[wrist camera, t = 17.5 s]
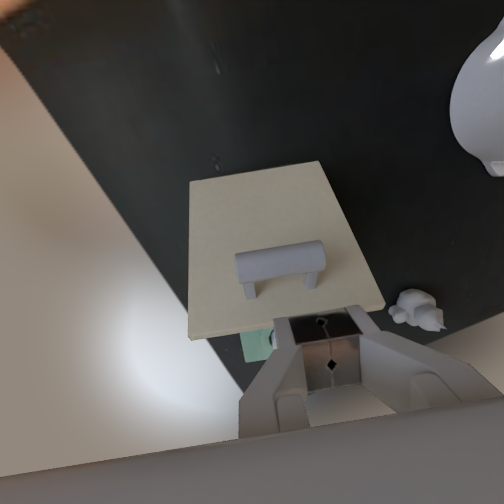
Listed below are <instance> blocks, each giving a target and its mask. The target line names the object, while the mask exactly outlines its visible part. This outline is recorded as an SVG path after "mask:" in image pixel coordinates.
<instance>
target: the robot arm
mask: <svg viewBox="0 0 504 504" xmlns="http://www.w3.org/2000/svg"><path fill="white" fill-rule="evenodd" d="M450 121H451V126H452V130H453V133H454V135H455V137H456V139H457V141H458V142H459V144H460V145H461V146H462V147H463V148H464V149H465V150H466V151H467V152H469V153H470V154H472V155H474V156H475V157H477V158H479V159H480V160H481V161H482V162H483V164H484V166H485V168H486V170H487V171H488V173H489V174H490V175H492V176H494V177H497V176H504V17H503V19H502V21H501V22H500V24H499V26H498V27H497V29H496V30H495V31H494V32H493V33H492V34H491V35H490V36H489V37H488V38H487V39H485V40H484V41H483V42H482V43H481V44H480V45H479V46H478V47H477V48H476V49H475V50H474V51H473V52H472V54H471V55H470V56H469V58H468V59H467V60H466V62H465V63H464V65H463V67H462V68H461V70H460V72H459V74H458V76H457V79H456V81H455V84H454V87H453V91H452V95H451V101H450ZM273 325H274V331H275V337H276V343H277V349H274V350H273V352H272V353H271V355H270V356H269V358H268V359H267V361H266V362H265V364H264V365H263V367H262V368H261V369H260V371H259V372H258V374H257V375H256V377H255V378H254V380H253V381H252V383H251V384H250V386H249V387H248V389H247V390H246V392H245V393H244V395H243V396H242V397H241V399H240V400H239V439H235V440H229V441H223V442H216V443H211V444H204V445H197V446H191V447H185V448H179V449H172V450H166V451H160V452H154V453H148V454H142V455H135V456H129V457H123V458H116V459H110V460H104V461H98V462H91V463H85V464H79V465H73V466H66V467H60V468H54V469H48V470H42V471H36V472H29V473H23V474H17V475H10V476H4V477H0V504H504V395H503V394H502V393H501V392H500V391H499V390H498V389H497V388H495V387H494V386H493V385H492V384H491V383H490V382H489V381H488V380H487V379H486V378H485V377H483V376H482V375H481V374H480V373H479V372H478V371H477V370H476V369H474V368H473V367H472V366H471V365H470V364H468V363H465V362H463V361H460V360H458V359H455V358H453V357H450V356H448V355H445V354H443V353H440V352H438V351H435V350H433V349H430V348H428V347H425V346H423V345H420V344H418V343H415V342H413V341H410V340H408V339H405V338H403V337H400V336H398V335H395V334H393V333H391V332H388V331H381V330H380V329H379V328H378V326H377V325H376V324H375V323H374V322H373V320H372V319H371V318H370V317H369V316H368V314H367V313H366V312H365V311H364V309H363V308H362V307H361V306H360V305H358V304H357V305H352V306H347V307H343V308H338V309H333V310H327V311H322V312H317V313H316V312H314V313H307V314H300V315H294V316H286V317H280V318H275V319H273ZM352 385H361V386H362V387H364V388H365V389H366V390H368V391H369V392H370V393H372V394H373V395H374V396H375V397H377V398H378V399H380V400H381V401H382V402H383V403H385V404H386V405H387V406H388V407H390V408H391V409H392V410H394V411H395V412H396V414H390V415H384V416H378V417H371V418H365V419H359V420H353V421H346V422H341V423H334V424H329V425H322V426H316V427H310V424H309V420H308V417H307V413H306V409H305V406H304V405H305V402H306V399H307V396H308V393H311V392H316V391H321V390H326V389H332V388H338V387H346V386H352Z"/></svg>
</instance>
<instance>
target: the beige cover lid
mask: <svg viewBox="0 0 504 504" xmlns="http://www.w3.org/2000/svg"><path fill="white" fill-rule="evenodd" d="M357 304H358V305H360V306H361V307H362V308H363V309H364V311H365V312H369V311H376V310H382V309H383V308H384V306H385V305H386V303H385V301H384V299H383V297H382V295H381V292H380V290H379V288H378V286H377V284H376V282H375V280H374V277H373V275H372V273H371V271H370V269H369V267H368V265H367V263H366V260H365V258H364V256H363V254H362V252H361V250H360V248H359V246H358V243H357V241H356V239H355V237H354V235H353V233H352V231H351V229H350V226H349V224H348V222H347V220H346V218H345V216H344V214H343V212H342V209H341V207H340V205H339V203H338V201H337V199H336V197H335V195H334V192H333V190H332V188H331V186H330V184H329V182H328V180H327V178H326V175H325V173H324V171H323V169H322V167H321V165H320V163H319V161H314V162H308V163H302V164H296V165H289V166H283V167H277V168H271V169H265V170H259V171H253V172H247V173H241V174H234V175H228V176H222V177H216V178H210V179H204V180H198V181H192V182H190V205H189V286H188V337H189V338H190V340H191V341H192V340H198V339H205V338H211V337H217V336H223V335H229V334H235V333H241V332H247V331H253V330H260V329H266V328H272V327H274V325H273V319H275V318H280V317H286V316H294V315H300V314H307V313H314V312H316V313H317V312H322V311H327V310H333V309H338V308H343V307H347V306H352V305H357Z"/></svg>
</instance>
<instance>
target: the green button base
mask: <svg viewBox="0 0 504 504" xmlns="http://www.w3.org/2000/svg"><path fill="white" fill-rule="evenodd" d="M273 331H274V327H272V328H266V329H260V330H253V331H247V332H241V333H240V338H241V343H242V348H243V353H244V358H245V362H246V363H247V362H253V361H259V360H265V359H268V358H269V356H270V355H271V353H272V352H273V350H274V349H273V346H272V341H271V334H272V332H273Z"/></svg>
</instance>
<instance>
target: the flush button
mask: <svg viewBox="0 0 504 504" xmlns="http://www.w3.org/2000/svg"><path fill="white" fill-rule="evenodd" d="M271 341H272V346H273V349H277V343H276V337H275V331H273V332H272V334H271Z"/></svg>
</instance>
